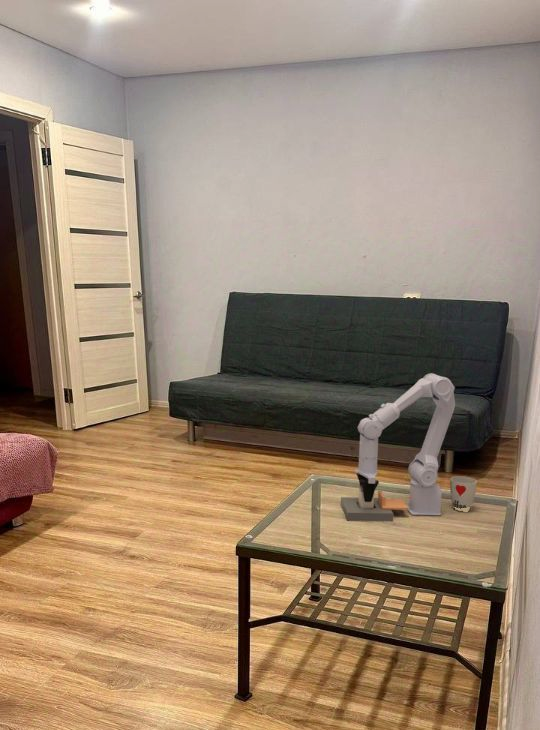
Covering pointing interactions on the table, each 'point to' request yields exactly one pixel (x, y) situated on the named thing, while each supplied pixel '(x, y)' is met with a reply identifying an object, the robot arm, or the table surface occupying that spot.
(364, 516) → the socket housing
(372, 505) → the beige rectangular block
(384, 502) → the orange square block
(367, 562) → the table surface
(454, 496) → the cup
